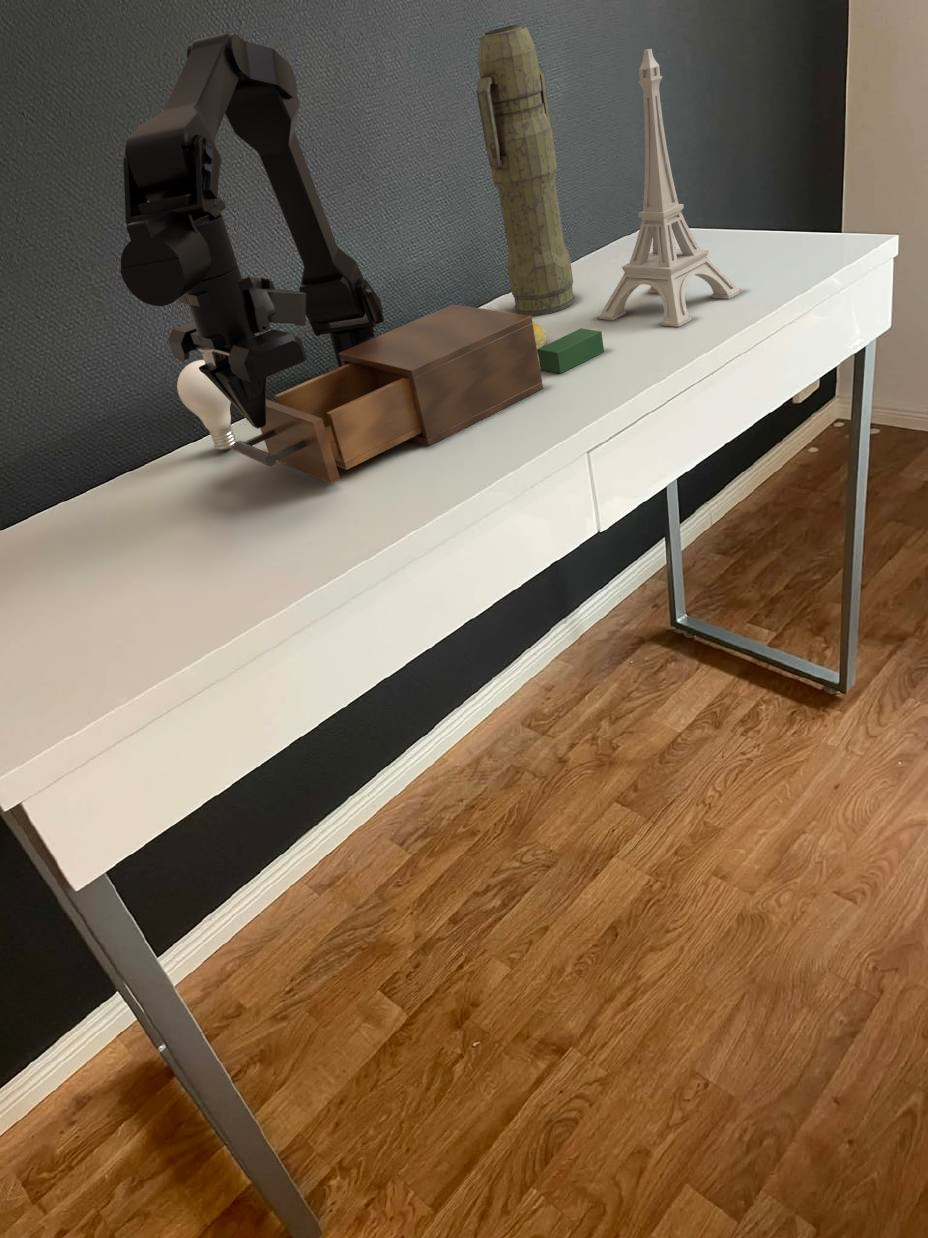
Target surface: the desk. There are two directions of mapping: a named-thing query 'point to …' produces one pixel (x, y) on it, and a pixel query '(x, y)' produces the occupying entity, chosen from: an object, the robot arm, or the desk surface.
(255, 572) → the desk surface
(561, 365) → the dark green foam brick
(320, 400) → the drawer
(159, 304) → the robot arm
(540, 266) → the thermos
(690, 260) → the eiffel tower
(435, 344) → the cabinet
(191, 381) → the lightbulb
